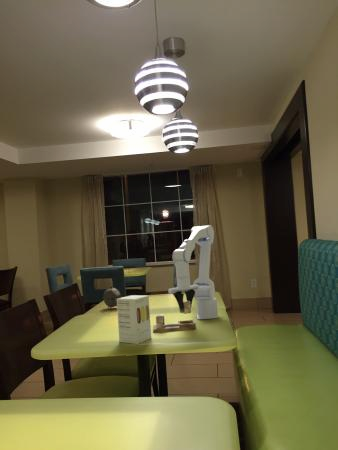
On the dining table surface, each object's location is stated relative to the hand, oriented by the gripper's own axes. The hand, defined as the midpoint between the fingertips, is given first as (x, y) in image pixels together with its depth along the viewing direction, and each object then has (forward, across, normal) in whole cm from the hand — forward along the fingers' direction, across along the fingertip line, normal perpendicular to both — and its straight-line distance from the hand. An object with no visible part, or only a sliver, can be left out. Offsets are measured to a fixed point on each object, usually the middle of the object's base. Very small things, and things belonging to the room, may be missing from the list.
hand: (185, 308), depth 156 cm
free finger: (+2, 0, 0) cm, 2 cm away
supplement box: (+8, +25, +2) cm, 26 cm away
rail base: (+8, +5, -2) cm, 10 cm away
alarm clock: (+8, +7, -72) cm, 73 cm away
